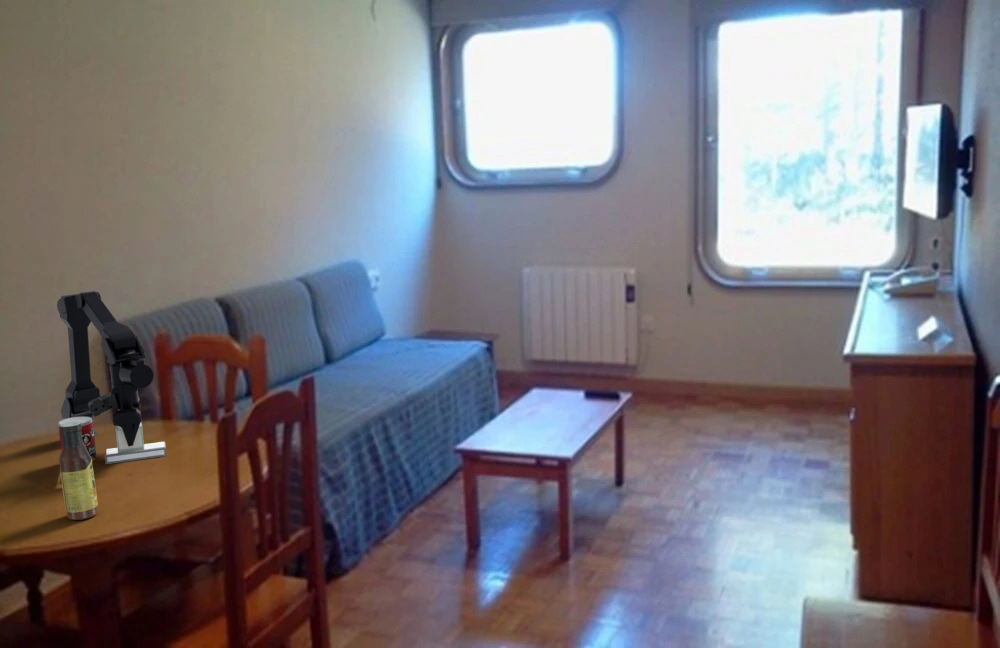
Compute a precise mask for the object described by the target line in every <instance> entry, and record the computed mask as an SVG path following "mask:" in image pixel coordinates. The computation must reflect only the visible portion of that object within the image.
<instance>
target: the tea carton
mask: <svg viewBox="0 0 1000 648" xmlns="http://www.w3.org/2000/svg"><path fill="white" fill-rule="evenodd" d="M115 436H116V448H118V453H122V452H130V451H137V450H144V444H145V443H144V433H143V423H142V422H140V425H139V428H138V431H137V434H136V438H135V441H134V444H133V446H128V444H127V441H126V438H125V435H124V433H123V430H122V428H121V427H119V426H115Z"/></svg>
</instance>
